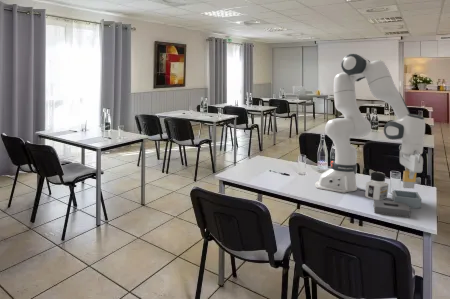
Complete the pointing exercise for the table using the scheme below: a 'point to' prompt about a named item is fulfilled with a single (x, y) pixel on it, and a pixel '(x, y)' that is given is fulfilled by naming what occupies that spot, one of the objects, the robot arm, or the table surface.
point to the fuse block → (391, 208)
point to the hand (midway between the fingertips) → (409, 177)
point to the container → (377, 186)
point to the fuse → (408, 180)
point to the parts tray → (407, 198)
